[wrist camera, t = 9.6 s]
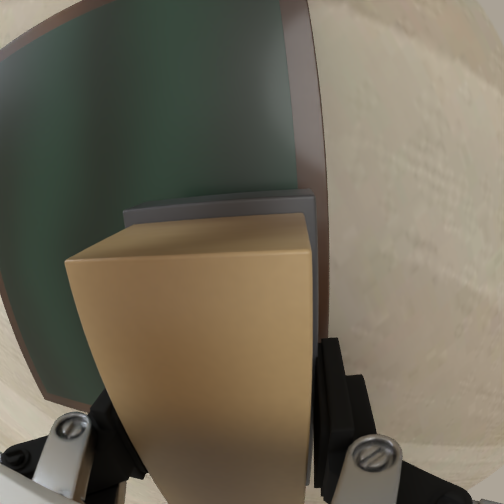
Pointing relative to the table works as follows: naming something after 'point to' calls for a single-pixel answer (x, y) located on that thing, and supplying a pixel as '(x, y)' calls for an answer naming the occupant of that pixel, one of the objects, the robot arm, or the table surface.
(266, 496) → the eraser
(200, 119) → the chalkboard
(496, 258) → the table surface
